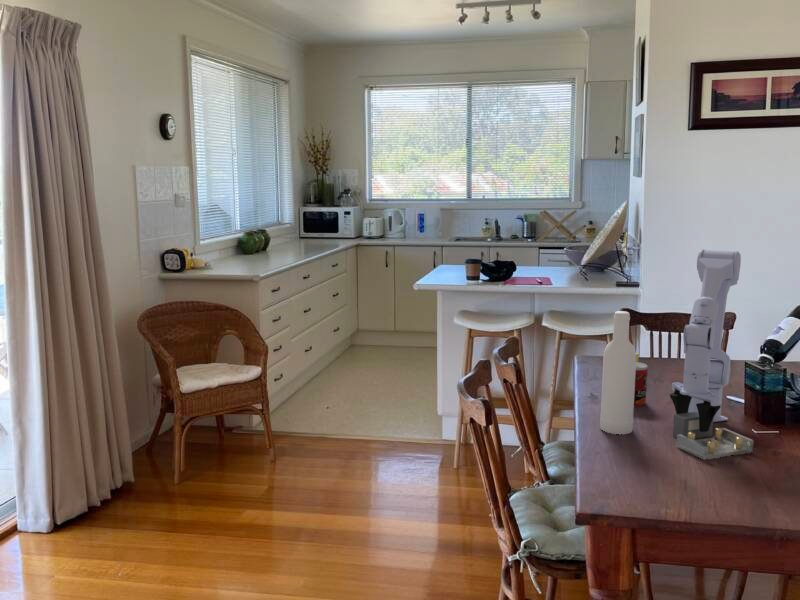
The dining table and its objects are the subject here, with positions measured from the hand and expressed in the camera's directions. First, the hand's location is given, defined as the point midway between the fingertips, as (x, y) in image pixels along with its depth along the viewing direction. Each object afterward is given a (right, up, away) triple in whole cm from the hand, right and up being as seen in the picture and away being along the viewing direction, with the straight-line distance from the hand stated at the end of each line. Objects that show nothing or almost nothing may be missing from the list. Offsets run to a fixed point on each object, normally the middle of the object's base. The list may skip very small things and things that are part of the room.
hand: (692, 426), depth 185 cm
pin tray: (+1, -4, -9) cm, 10 cm away
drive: (0, -3, 0) cm, 3 cm away
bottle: (-17, -2, +5) cm, 18 cm away
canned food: (-7, +2, +27) cm, 28 cm away
